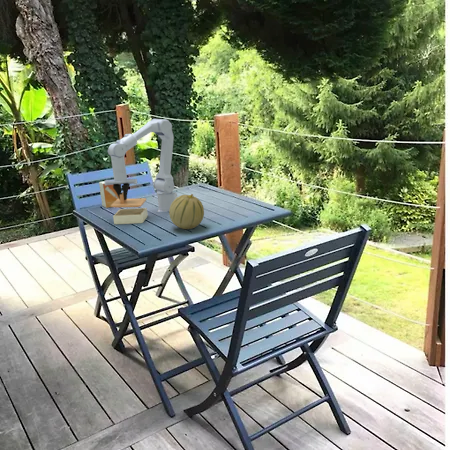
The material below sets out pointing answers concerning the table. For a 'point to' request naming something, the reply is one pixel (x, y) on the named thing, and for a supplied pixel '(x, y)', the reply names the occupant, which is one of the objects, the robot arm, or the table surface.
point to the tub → (130, 216)
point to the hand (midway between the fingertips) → (123, 199)
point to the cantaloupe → (186, 211)
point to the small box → (107, 194)
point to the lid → (128, 202)
